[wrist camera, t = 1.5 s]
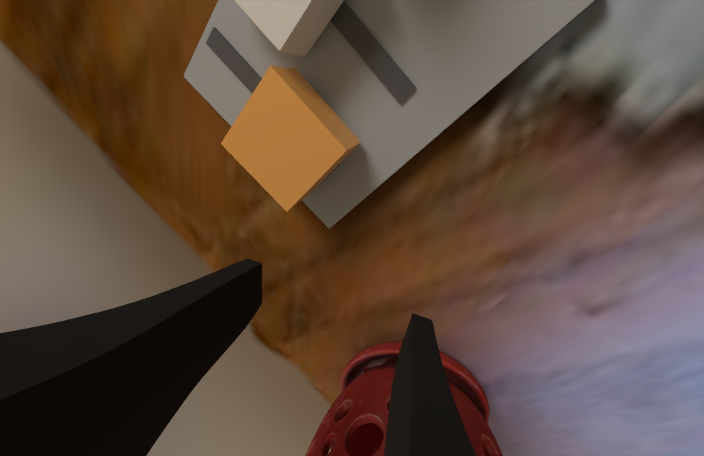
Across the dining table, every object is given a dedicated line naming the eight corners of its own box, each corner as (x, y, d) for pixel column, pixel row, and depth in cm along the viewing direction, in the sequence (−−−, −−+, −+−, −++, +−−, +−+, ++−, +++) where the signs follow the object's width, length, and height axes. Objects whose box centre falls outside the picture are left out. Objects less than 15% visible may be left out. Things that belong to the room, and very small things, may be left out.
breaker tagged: (361, 142, 15) (346, 150, 13) (306, 197, 18) (286, 211, 16) (296, 69, 15) (270, 65, 13) (249, 136, 17) (220, 143, 15)
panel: (605, -13, 11) (621, -23, 10) (334, 223, 20) (327, 230, 19) (391, -325, 10) (384, -373, 9) (196, 76, 18) (180, 76, 17)
